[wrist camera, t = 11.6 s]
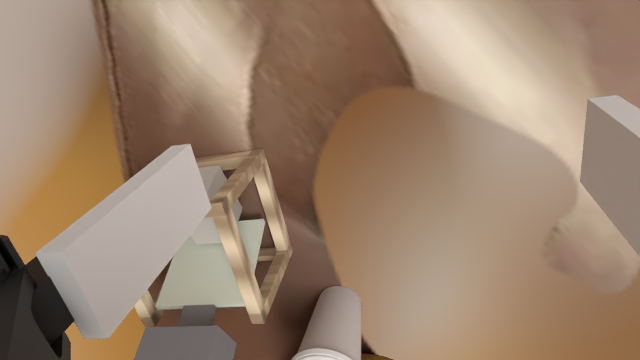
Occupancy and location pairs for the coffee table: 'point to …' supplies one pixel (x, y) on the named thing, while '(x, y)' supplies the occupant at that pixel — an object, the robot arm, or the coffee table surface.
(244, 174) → the maple stand
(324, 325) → the coffee cup
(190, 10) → the coffee table surface
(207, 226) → the light gray block
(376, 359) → the bowl
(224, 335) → the trapdoor
